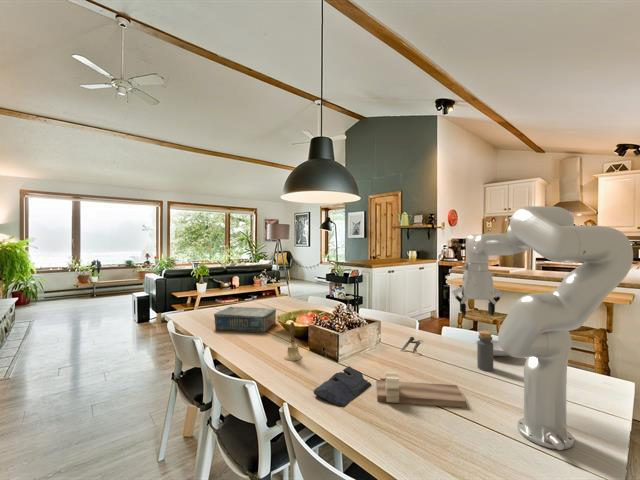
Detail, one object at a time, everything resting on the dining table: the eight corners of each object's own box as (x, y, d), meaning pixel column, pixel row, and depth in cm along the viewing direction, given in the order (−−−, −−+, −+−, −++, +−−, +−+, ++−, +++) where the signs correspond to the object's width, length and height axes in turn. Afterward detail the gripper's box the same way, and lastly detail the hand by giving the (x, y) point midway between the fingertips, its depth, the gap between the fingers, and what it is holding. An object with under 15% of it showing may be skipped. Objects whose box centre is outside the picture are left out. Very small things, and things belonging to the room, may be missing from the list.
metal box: (230, 321, 207) (230, 305, 207) (277, 323, 200) (276, 307, 200) (213, 330, 186) (212, 313, 186) (264, 333, 179) (264, 316, 179)
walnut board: (466, 407, 100) (466, 401, 100) (377, 401, 104) (377, 395, 104) (456, 390, 111) (456, 385, 111) (376, 385, 115) (376, 380, 115)
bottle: (495, 371, 126) (495, 334, 126) (479, 370, 127) (479, 333, 127) (490, 365, 132) (490, 330, 132) (475, 364, 133) (475, 329, 133)
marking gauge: (399, 402, 102) (399, 380, 102) (386, 401, 103) (386, 379, 103) (396, 387, 112) (396, 367, 112) (384, 387, 113) (384, 366, 113)
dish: (472, 356, 142) (472, 345, 142) (477, 347, 154) (477, 337, 154) (518, 365, 132) (518, 353, 132) (519, 354, 144) (519, 343, 144)
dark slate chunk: (306, 396, 109) (306, 383, 109) (339, 373, 126) (339, 362, 126) (343, 410, 100) (343, 396, 100) (374, 384, 117) (374, 371, 117)
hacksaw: (410, 338, 168) (410, 335, 168) (430, 341, 163) (430, 338, 163) (398, 353, 147) (398, 350, 147) (420, 357, 142) (420, 354, 142)
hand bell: (283, 361, 139) (282, 325, 139) (284, 354, 147) (284, 320, 147) (301, 360, 139) (301, 324, 139) (302, 353, 147) (302, 319, 147)
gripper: (455, 268, 113) (455, 316, 113) (506, 269, 111) (506, 317, 111) (449, 266, 120) (449, 311, 121) (497, 267, 118) (497, 312, 118)
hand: (477, 314), depth 116 cm, fingers open, 9 cm apart
